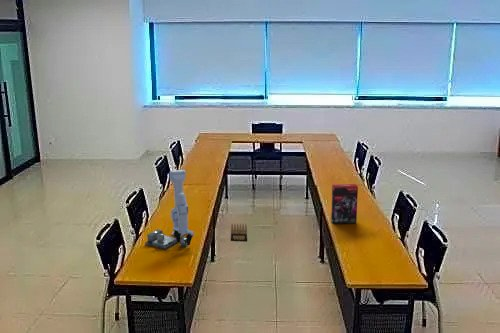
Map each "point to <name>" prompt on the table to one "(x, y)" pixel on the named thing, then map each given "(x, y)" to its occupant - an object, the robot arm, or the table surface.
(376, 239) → the table surface
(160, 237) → the cylinder
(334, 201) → the graphics card box
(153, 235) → the dial scale
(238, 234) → the ammunition clip
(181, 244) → the cylinder
